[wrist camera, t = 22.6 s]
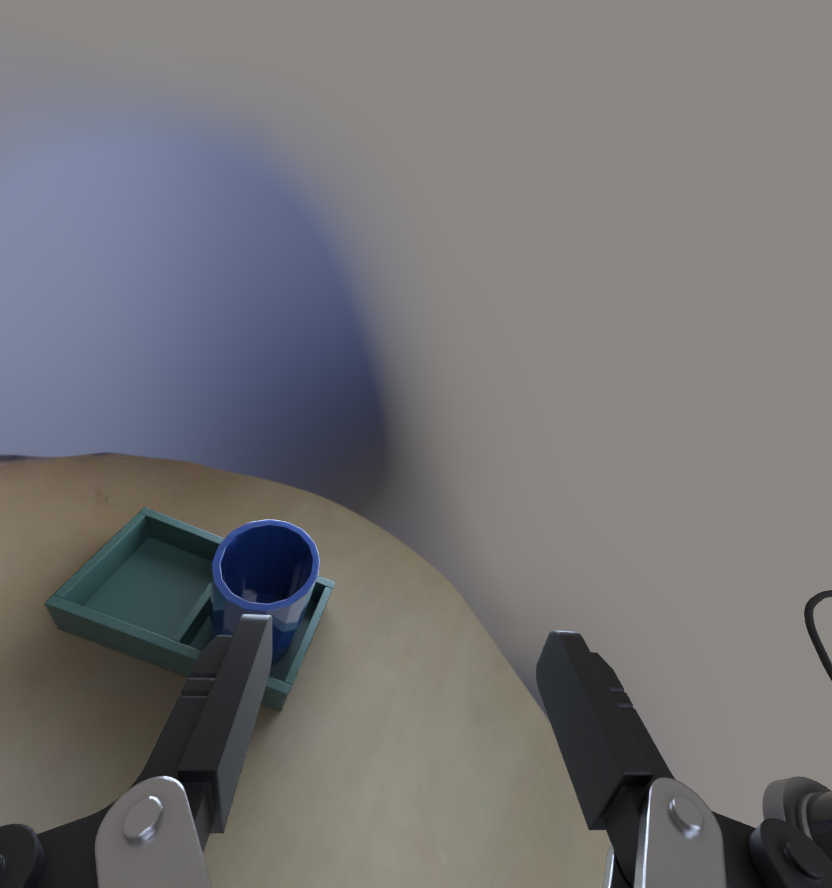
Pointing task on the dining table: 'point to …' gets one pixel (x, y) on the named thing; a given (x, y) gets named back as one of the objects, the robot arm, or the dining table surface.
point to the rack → (164, 600)
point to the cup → (264, 580)
